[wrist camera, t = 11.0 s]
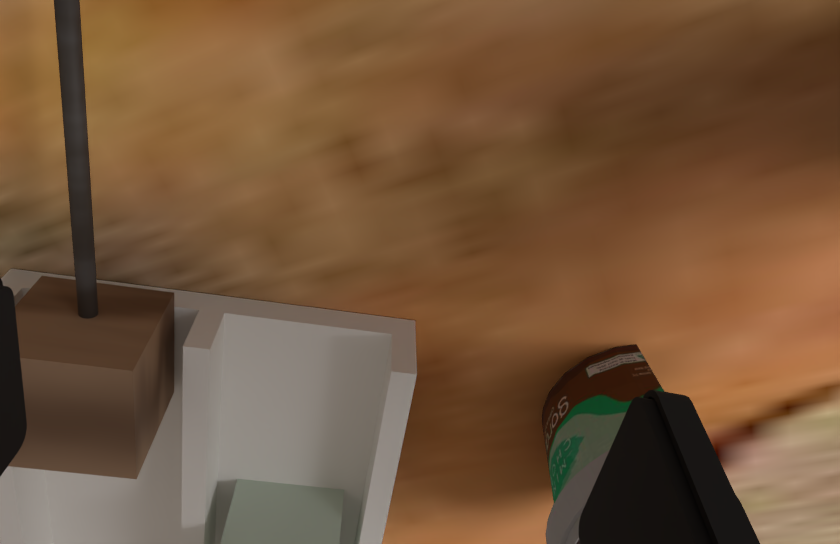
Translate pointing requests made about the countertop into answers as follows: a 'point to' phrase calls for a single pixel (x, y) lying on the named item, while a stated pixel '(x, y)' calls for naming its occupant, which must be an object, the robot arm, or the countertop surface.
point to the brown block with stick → (90, 329)
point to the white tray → (240, 426)
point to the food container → (587, 429)
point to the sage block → (283, 514)
